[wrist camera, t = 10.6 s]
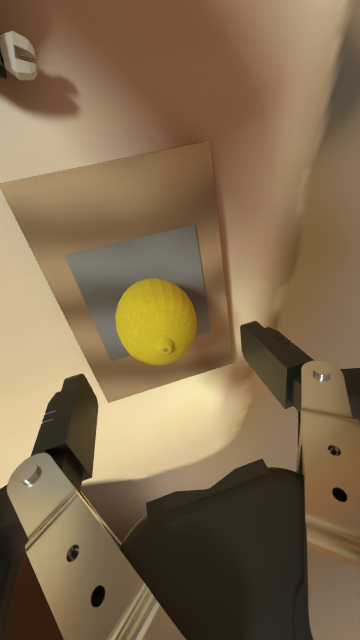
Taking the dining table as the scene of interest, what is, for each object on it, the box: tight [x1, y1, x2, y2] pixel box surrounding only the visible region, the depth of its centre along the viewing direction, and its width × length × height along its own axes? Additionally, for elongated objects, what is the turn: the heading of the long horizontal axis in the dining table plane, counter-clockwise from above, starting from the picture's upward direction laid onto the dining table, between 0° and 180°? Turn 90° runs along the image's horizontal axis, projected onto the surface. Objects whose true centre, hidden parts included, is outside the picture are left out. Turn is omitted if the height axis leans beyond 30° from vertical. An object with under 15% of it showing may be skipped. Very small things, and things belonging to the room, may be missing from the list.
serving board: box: [0, 141, 233, 403], centre depth 20 cm, size 20×14×2 cm
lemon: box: [115, 278, 197, 365], centre depth 16 cm, size 6×6×8 cm
